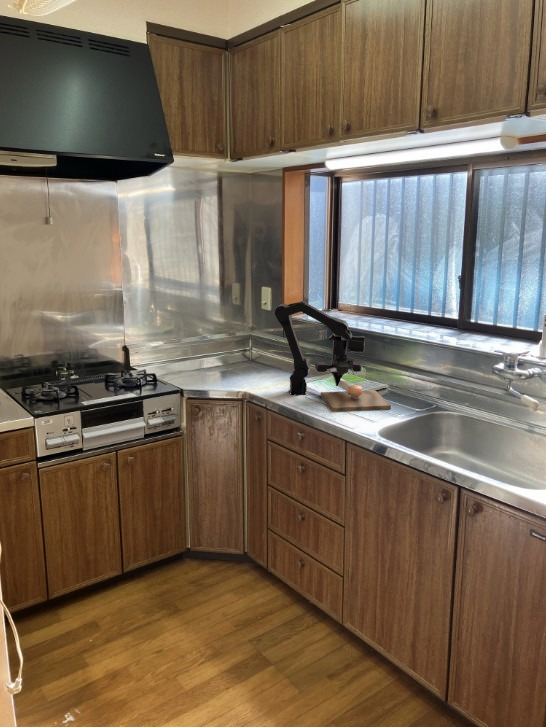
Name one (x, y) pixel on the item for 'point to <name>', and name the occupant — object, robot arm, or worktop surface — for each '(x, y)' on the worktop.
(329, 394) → the post board
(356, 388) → the orange and white spoon
